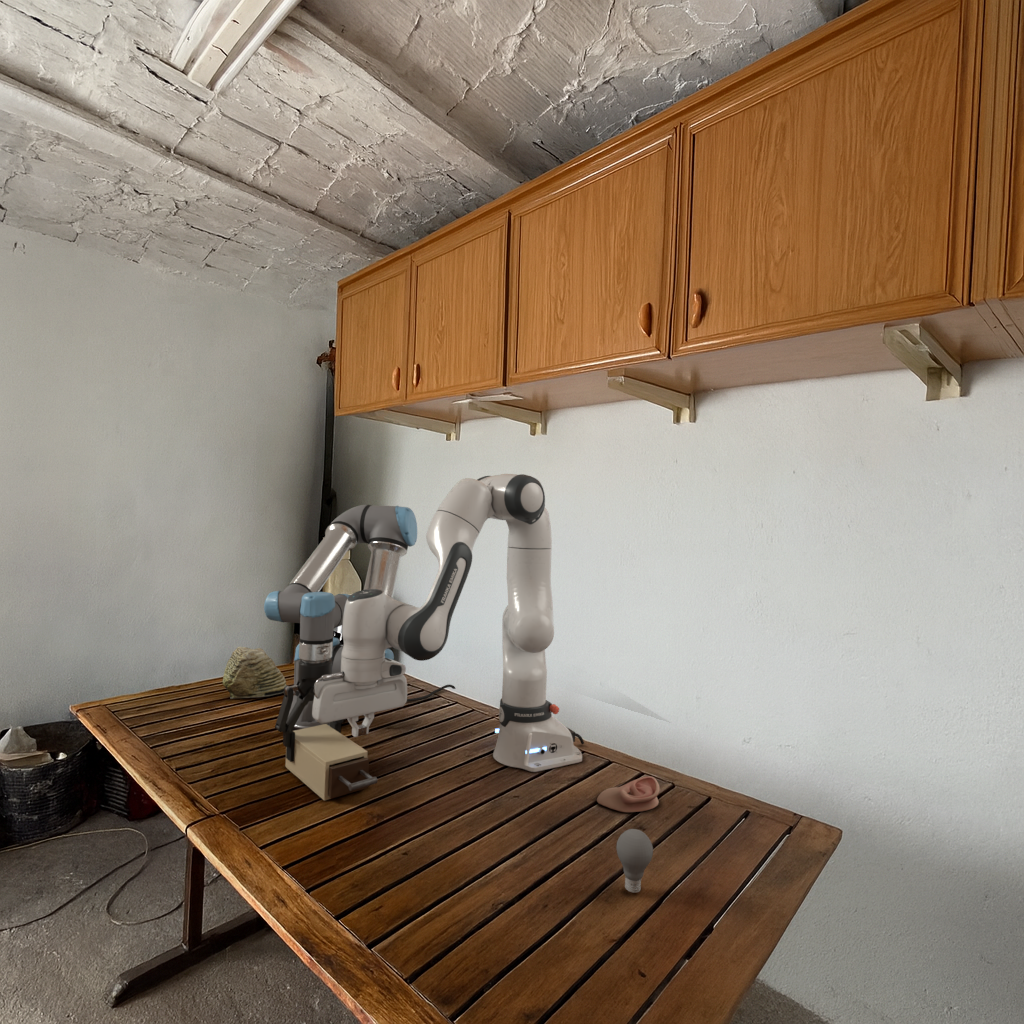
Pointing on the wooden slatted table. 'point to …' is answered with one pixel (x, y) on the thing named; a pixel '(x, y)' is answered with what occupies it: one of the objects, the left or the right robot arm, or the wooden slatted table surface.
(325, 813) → the wooden slatted table surface
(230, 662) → the fossil
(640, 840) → the light bulb
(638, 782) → the anatomical model
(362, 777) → the drawer
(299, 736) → the cabinet
